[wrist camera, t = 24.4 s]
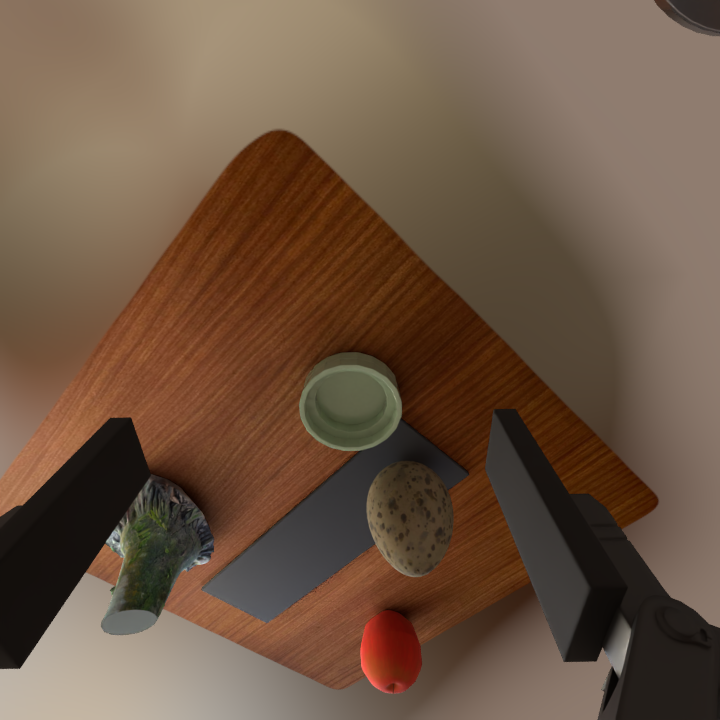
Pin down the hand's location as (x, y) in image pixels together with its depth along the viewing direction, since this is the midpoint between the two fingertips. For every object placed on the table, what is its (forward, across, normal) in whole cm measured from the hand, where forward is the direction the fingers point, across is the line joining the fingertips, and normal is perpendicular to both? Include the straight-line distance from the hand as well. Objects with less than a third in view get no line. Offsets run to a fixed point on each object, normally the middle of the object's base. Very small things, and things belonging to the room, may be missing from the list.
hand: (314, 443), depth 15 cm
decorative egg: (+31, +7, -30) cm, 44 cm away
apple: (+32, +5, -65) cm, 73 cm away
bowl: (+32, 0, -17) cm, 36 cm away
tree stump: (+32, -31, -38) cm, 59 cm away
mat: (+32, -6, -43) cm, 54 cm away
